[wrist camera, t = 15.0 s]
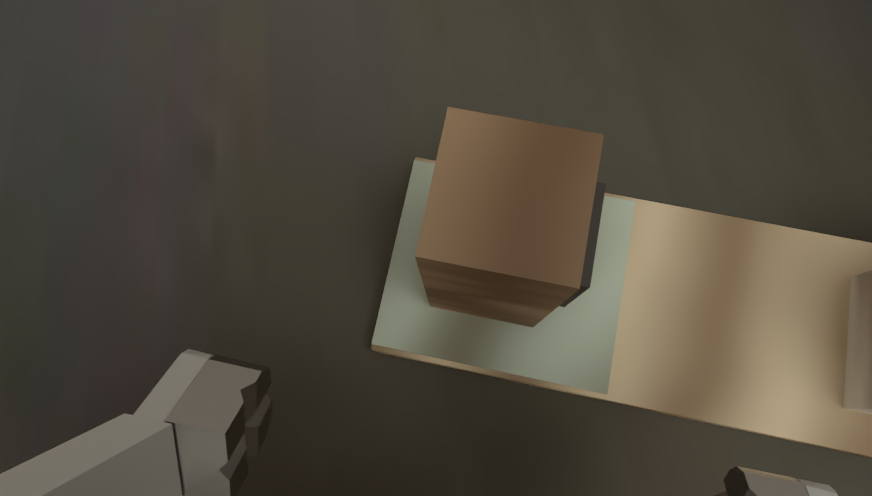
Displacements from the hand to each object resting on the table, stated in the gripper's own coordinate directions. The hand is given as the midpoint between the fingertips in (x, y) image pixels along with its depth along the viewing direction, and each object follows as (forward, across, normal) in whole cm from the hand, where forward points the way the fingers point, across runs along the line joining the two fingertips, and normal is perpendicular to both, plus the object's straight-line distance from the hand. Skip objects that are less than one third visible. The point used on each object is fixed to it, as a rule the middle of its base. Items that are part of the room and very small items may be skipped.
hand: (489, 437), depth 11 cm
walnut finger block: (+12, 0, +5) cm, 13 cm away
